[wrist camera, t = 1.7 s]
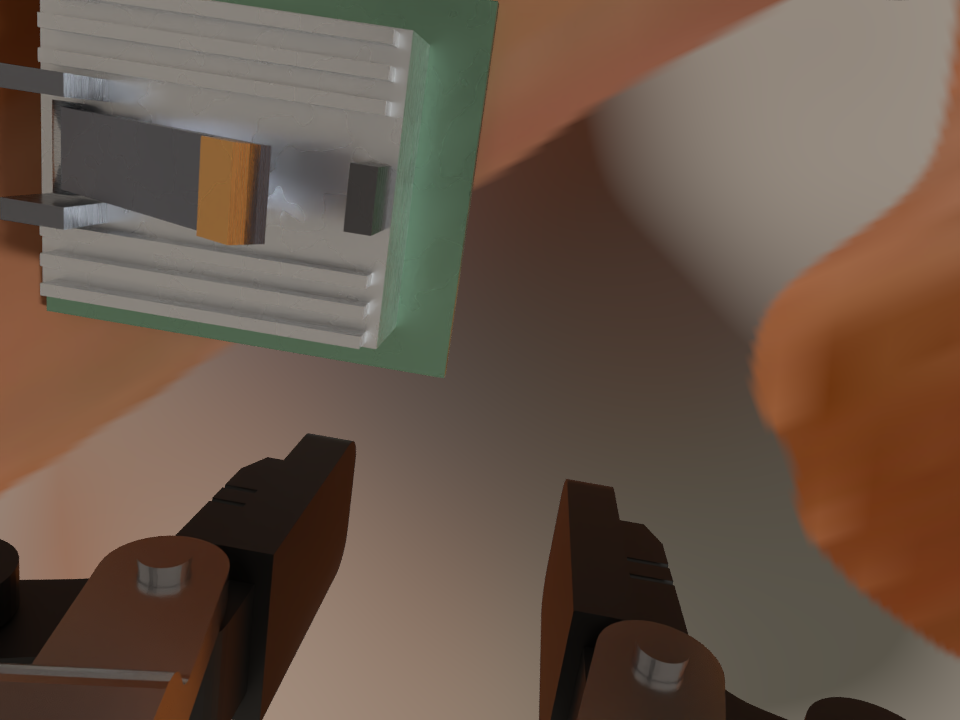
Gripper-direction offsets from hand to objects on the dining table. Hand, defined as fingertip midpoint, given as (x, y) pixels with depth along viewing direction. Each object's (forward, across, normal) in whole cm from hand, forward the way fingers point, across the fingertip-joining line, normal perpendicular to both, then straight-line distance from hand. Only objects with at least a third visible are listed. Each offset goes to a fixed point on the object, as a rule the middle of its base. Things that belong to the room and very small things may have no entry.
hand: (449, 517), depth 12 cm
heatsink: (+23, +12, -3) cm, 26 cm away
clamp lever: (+16, +13, -3) cm, 20 cm away
